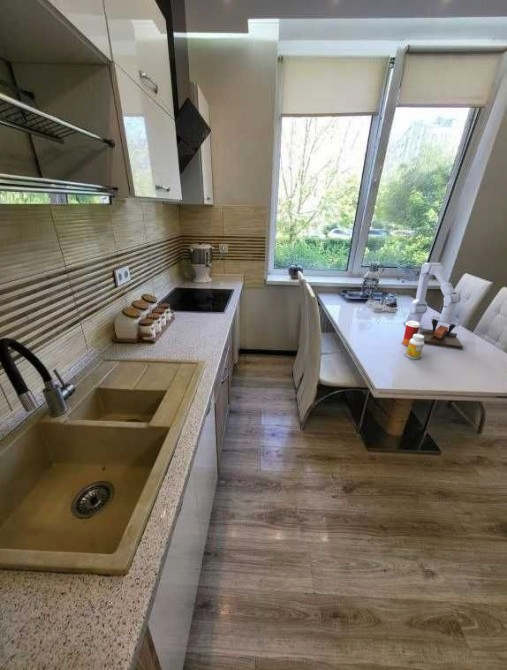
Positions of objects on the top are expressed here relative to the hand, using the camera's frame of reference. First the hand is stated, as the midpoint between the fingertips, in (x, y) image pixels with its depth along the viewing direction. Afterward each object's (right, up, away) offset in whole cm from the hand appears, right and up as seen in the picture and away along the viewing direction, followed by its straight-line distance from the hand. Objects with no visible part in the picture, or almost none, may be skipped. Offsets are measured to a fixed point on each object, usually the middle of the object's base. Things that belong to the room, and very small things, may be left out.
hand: (440, 333), depth 172 cm
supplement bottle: (-28, -13, -19) cm, 37 cm away
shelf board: (-1, -5, 0) cm, 5 cm away
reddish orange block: (0, -1, +1) cm, 1 cm away
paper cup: (-23, -7, -5) cm, 25 cm away
